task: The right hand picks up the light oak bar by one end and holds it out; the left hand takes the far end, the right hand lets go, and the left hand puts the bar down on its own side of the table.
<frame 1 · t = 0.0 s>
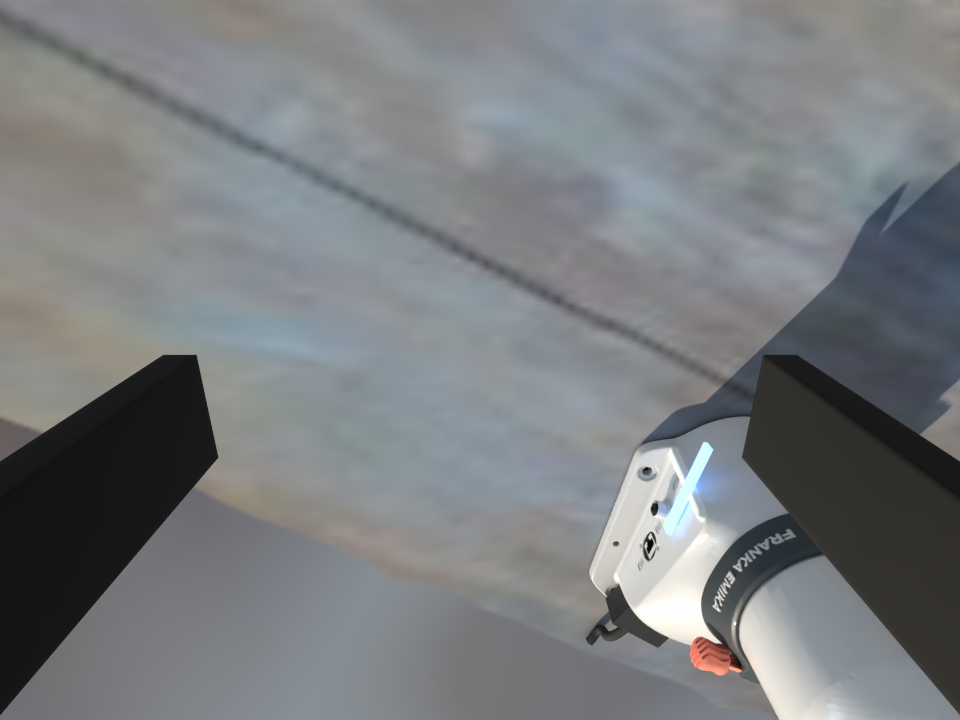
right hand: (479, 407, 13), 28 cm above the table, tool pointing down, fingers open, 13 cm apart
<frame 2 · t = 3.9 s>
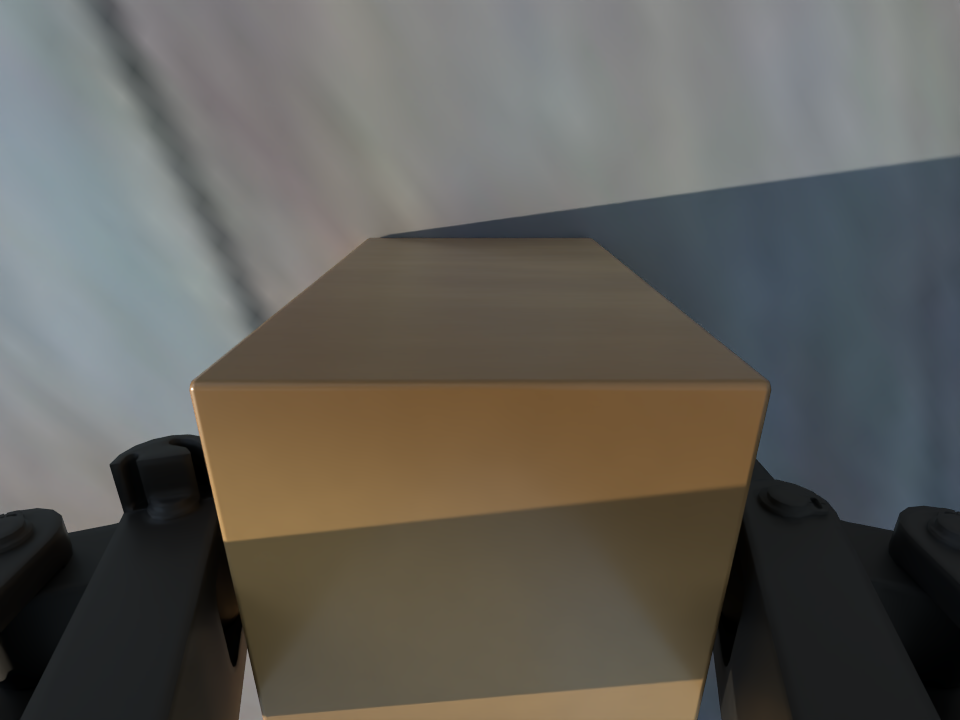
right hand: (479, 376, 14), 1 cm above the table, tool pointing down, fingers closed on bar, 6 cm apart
bar: (480, 615, 18), on the table, touching right hand
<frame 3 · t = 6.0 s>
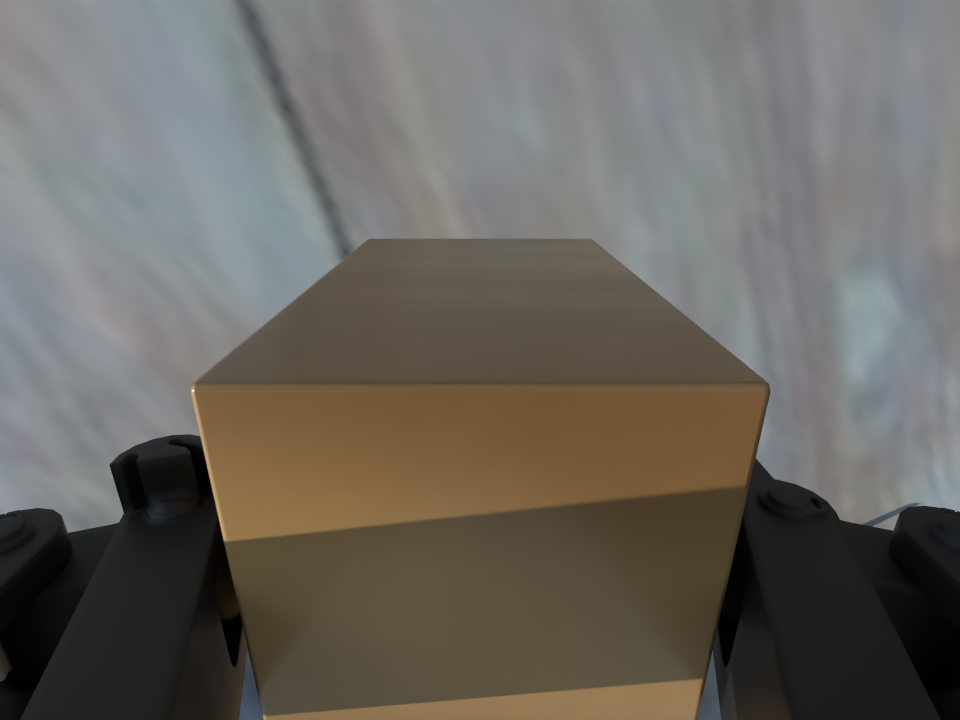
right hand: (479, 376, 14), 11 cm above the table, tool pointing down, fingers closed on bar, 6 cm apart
bar: (480, 615, 18), point 10 cm above the table, touching right hand
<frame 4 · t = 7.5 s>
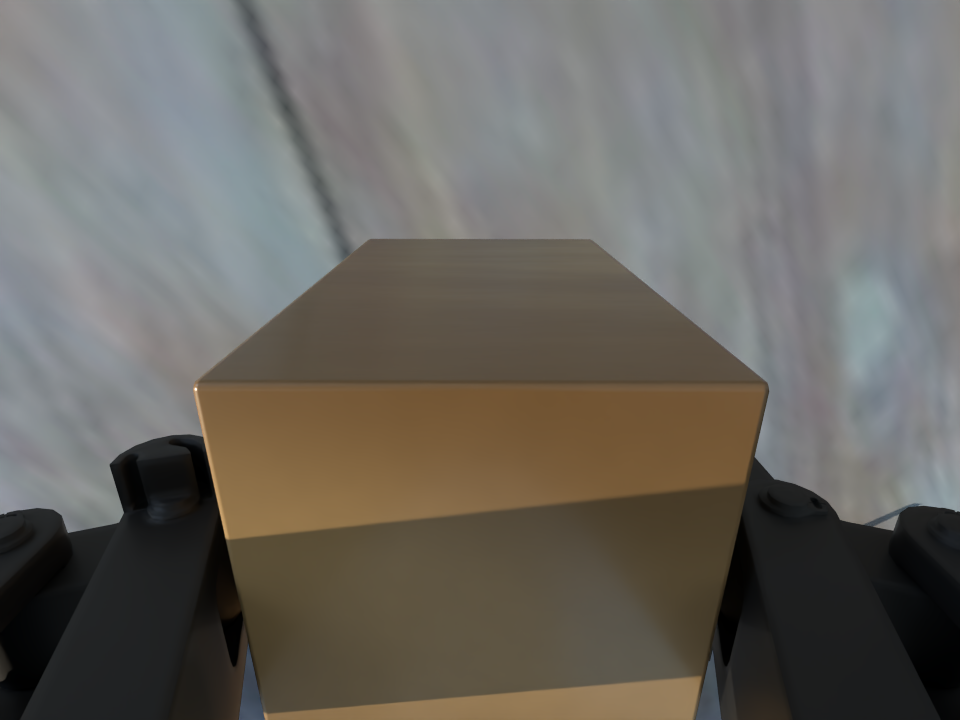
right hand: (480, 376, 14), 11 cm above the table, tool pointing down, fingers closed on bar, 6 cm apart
bar: (479, 615, 18), point 10 cm above the table, touching right hand, left hand
when the right hand's fingers open (11 cm above the table, at t = 8.4 s): bar stays where it is, held by the left hand.
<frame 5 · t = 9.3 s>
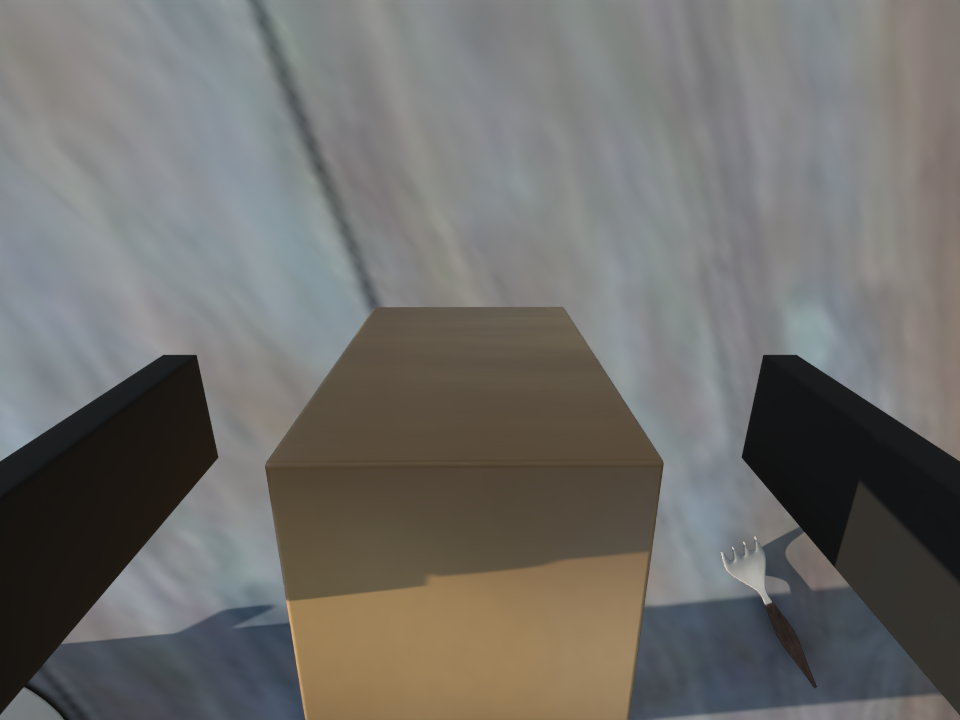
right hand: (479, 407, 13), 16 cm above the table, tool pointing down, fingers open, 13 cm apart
bar: (471, 631, 20), point 12 cm above the table, touching left hand
fork: (769, 605, 36), on the table
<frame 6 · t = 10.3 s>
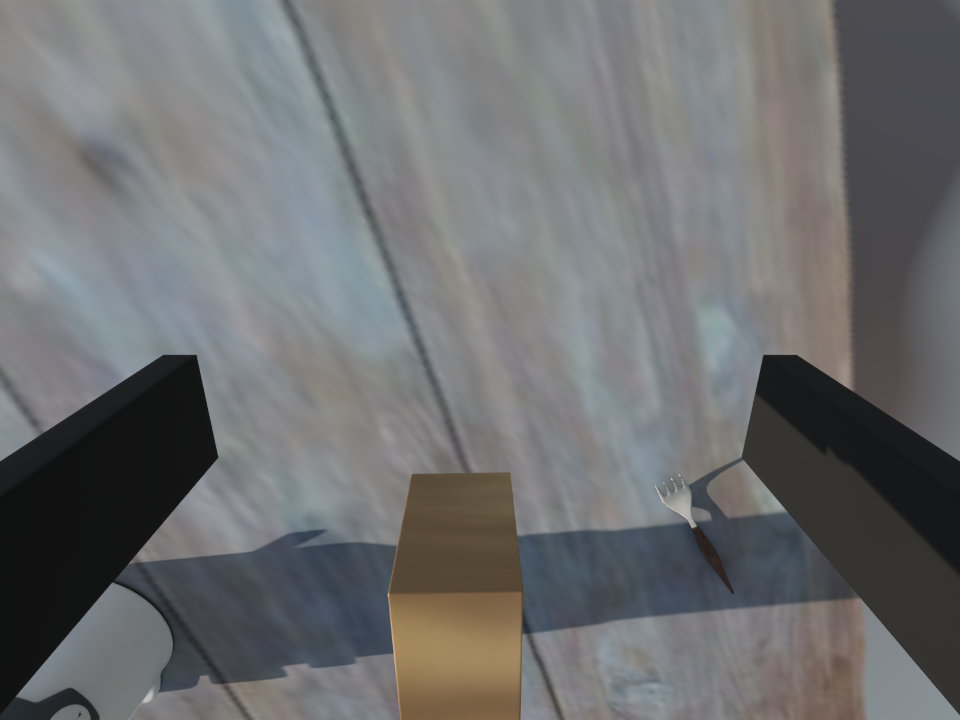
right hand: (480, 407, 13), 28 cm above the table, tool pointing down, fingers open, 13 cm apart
bar: (465, 635, 35), point 13 cm above the table, touching left hand
fork: (696, 529, 48), on the table
when the left hand's fingers open (5 cm above the table, at t = 13.6 s): bar stays where it is, on the table.
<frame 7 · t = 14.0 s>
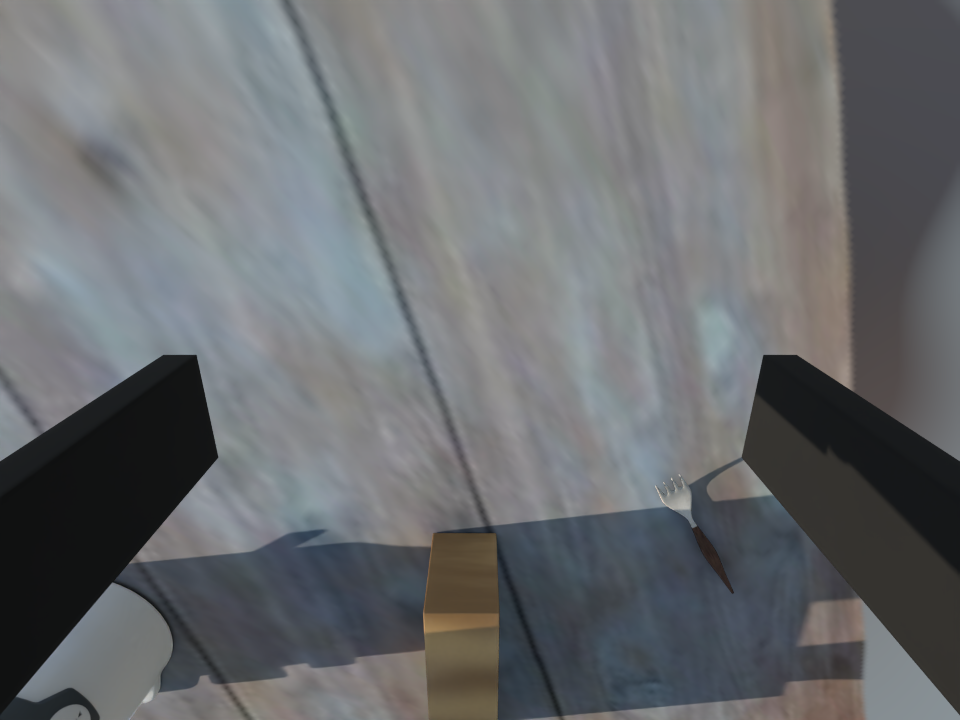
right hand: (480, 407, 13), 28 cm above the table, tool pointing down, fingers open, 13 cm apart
bar: (466, 636, 53), on the table
fork: (696, 529, 48), on the table
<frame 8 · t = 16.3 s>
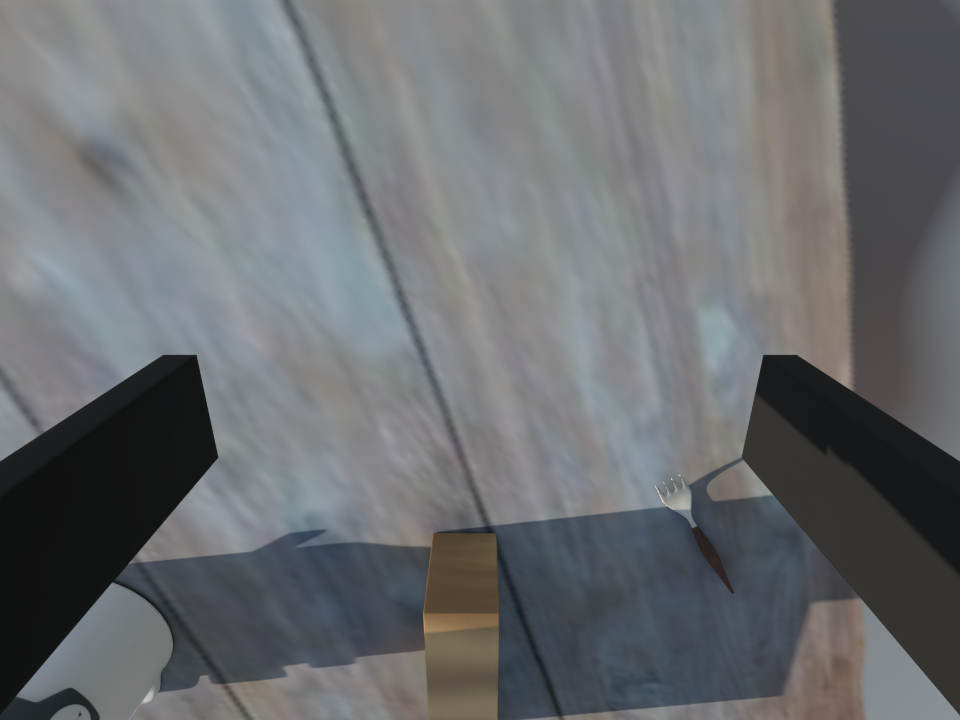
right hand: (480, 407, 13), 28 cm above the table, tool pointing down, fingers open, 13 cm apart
bar: (466, 636, 53), on the table
fork: (696, 529, 48), on the table
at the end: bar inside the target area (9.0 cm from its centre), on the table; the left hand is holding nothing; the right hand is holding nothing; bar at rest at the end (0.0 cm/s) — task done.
